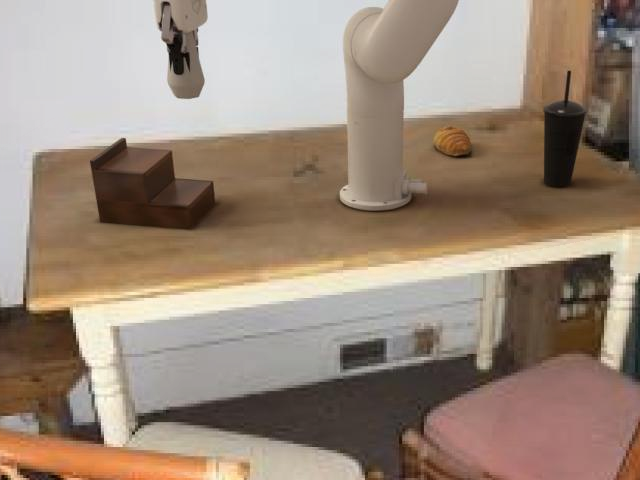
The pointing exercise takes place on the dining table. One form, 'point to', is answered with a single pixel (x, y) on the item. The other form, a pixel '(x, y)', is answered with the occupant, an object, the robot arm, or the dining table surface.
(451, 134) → the pastry
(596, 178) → the dining table surface
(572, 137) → the drinking cup
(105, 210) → the spice rack
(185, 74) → the salt shaker
